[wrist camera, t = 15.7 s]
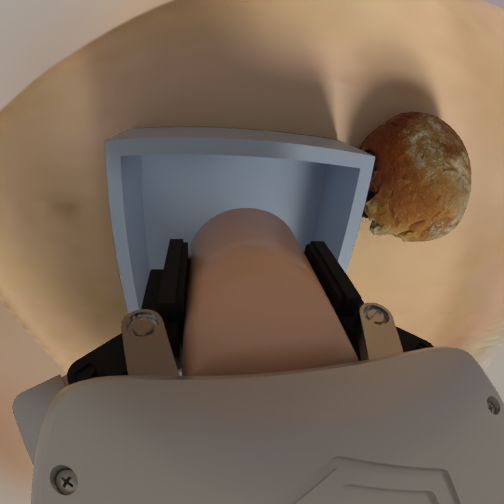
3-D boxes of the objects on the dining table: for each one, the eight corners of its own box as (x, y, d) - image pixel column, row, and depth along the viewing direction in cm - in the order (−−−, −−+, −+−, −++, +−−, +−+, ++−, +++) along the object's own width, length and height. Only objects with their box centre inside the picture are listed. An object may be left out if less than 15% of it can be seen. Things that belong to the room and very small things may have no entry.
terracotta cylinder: (306, 210, 12) (387, 328, 6) (287, 299, 15) (329, 419, 9) (187, 206, 11) (170, 343, 5) (190, 301, 14) (189, 433, 8)
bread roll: (412, 196, 25) (481, 214, 19) (355, 256, 22) (440, 292, 16) (393, 101, 20) (476, 105, 13) (322, 140, 17) (437, 148, 10)
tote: (295, 329, 27) (309, 370, 22) (151, 332, 24) (145, 376, 20) (338, 140, 18) (375, 156, 13) (131, 128, 15) (104, 140, 11)
